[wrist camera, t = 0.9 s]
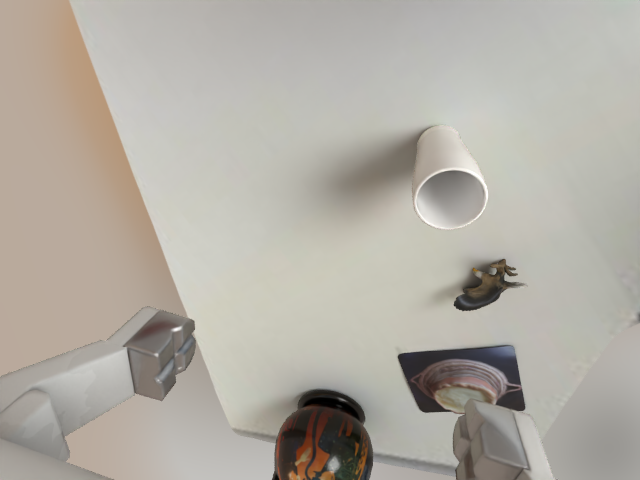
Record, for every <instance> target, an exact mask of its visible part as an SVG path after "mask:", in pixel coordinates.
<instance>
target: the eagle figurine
mask: <svg viewBox="0 0 640 480" xmlns="http://www.w3.org/2000/svg"><path fill="white" fill-rule="evenodd" d="M490 267H493V268H496V269H497V272H496V274H495V275H491V274H488V273H484V272H480V271H478V270H476V269H475V268H473V271H474V274H475V275H476V276H477V277H479V278H480V279H481V280H482V284H481V285H480V286H479V287H475V288H469V289H463V290H464V293H465V294H462V295H460V296H458V297H457V298H456V301H455V302H454V306H455V307H456V309H459V310H462V311H465V310H466V311H468V310H469V311H471V310H477V309H479V308H481V307H484V306H486V305H489V304H490V303H493V302H494V301H496V300H497V299H498V298H499V297H500V294H501V293H502V292H503V291H504V290H506V289H508V288H520V287H526V286H527V284H524V283H519V282H512V283H511V282H507V281H505V280H504V275H505V272H506V273H507V274H508V275H509V276H516V275H518V274H516V273H515V274H514V273H512V272H510V271H509V270H508V269H510V270H516V269H515V268H511V267H509V266H507V265H506V260H505V259H503V260H502V261H500V262H499V263H498V264H491V266H490Z"/></svg>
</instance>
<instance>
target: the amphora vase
mask: <svg viewBox="0 0 640 480" xmlns="http://www.w3.org/2000/svg"><path fill="white" fill-rule="evenodd" d="M364 422H365V414H364V411H363V410H362V408H361V406H360V405H359V404H358V403H357V402H356V401H354V400H353V399H351V398H349V397H348V396H345V395H343V394H340V393H337V392H333V391H325V390H319V391H312V392H309V393H307V394H305V395H304V396H302V397H301V398H300V400H299V402H298V410H297V411H295V412H293V413H292V414H291V415H290V416H289V417H288V418H287V419H286V421H285V422H284V424H283V425H282V427H281V428H280V431H279V433H278V436H277V439H276V446H275V471H274V474H273V478H272V480H369V478H370V475H371V470H372V466H373V449H372V444H371V440H370V437H369V435H368V433H367V431H366V429H365V428H364V426H363V425H364Z"/></svg>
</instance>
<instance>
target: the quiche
mask: <svg viewBox="0 0 640 480" xmlns="http://www.w3.org/2000/svg"><path fill="white" fill-rule="evenodd" d="M398 359H399V361H400V364H401V367H402V369H403V372H404V374H405V377H406V379H407V381H408V384H409V386H410V388H411V391H412V393H413V395H414V397H415V400H416V402H417V404H418V406H419V408H420V409H421V411H422V412H426V413H428V412H454V413H458V414H465V410H464V406H465V404H466V402H467V400H469V399H470V398H472V399H476V400H480V401H483V402H487V403H491V404H494V405H498V406H502V407H505V408H508V409H512V410H516V411H523V410H525V403H524V398H523V392H522V387H521V382H520V376H519V371H518V365H517V360H516V354H515V349H514V347H513V346H503V347H494V348H482V349H467V350H450V351H427V352H414V353H404V354H400V355H398Z"/></svg>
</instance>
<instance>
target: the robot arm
mask: <svg viewBox="0 0 640 480" xmlns="http://www.w3.org/2000/svg"><path fill="white" fill-rule="evenodd" d="M194 330H195V323H194V320H192V319H189V318H186V317H182V316H179V315H176V314H173V313H169V312H166V311H163V310H159V309H156V308H153V307H150V306H147V307H144V308H142V309H141V310H140V311H139V312H137V313H136V314H135V315H134V316H133V317H132V318H131V319H130V320H129V321H127V322H126V323H125V324H124V325H123V326H122V327H121V328H120V329H118V330H117V331H116V332H115V333H114V334H113V335H112V336H111V337H110V338H108V339H107V340H106V341H102V340H100V341H97V342H94V343H91V344H88V345H86V346H83V347H80V348H77V349H75V350H72V351H69V352H66V353H64V354H61V355H58V356H55V357H53V358H50V359H47V360H44V361H41V362H39V363H36V364H33V365H30V366H28V367H25V368H22V369H19V370H17V371H14V372H11V373H8V374H6V375H3V376H1V377H0V480H114V479H111V478H108V477H105V476H102V475H100V474H96V473H94V472H92V471H89V470H86V469H84V468H81V467H78V466H75V465H73V464H70V463H67V462H66V461H67V460H68V458H69V457H70V451H69V448H68V445H67V442H66V440H65V436H67V435H68V434H70V433H72V432H73V431H75V430H77V429H78V428H80V427H82V426H83V425H85V424H87V423H88V422H90V421H92V420H94V419H95V418H97V417H99V416H100V415H102V414H104V413H105V412H107V411H109V410H110V409H112V408H114V407H116V406H117V405H119V404H121V403H122V402H124V401H126V400H127V399H129V398H131V397H132V396H134V395H135V393H136V394H139V395H143V396H146V397H150V398H153V399H157V400H160V401H162V400H163V399H164V397H165V396H166V395H167V394H168V392H169V391H170V390H171V388H172V387H173V386H174V384H175V383H176V376H175V375H177V374H178V373H181V372H183V371H185V370H186V368H187V367H188V365H189V364H190V362H191V360H192V357H193V355H194V353H195V348H196V340H195V339H194V337H193V336H192V332H193V331H194ZM464 410H465V415H462V416H460V417H458V420H457V422H456V424H455V428H454V433H453V452H454V455H455V456H456V458H457V459H458V461H459V462H460V463H459V465H458V466H457V468H456V470H455V471H456V480H558V479H555V478H554V477H553V474H552V471H551V468H550V465H549V462H548V459H547V457H546V454H545V451H544V448H543V445H542V442H541V439H540V436H539V434H538V431H537V428H536V425H535V422H534V419H533V418H532V416H531V415H530V414H527V413H523V412H519V411H516V410H512V409H508V408H505V407H502V406H498V405H494V404H491V403H487V402H483V401H480V400H476V399H472V398H470V399H469V400H467V402H466V404H465V406H464Z"/></svg>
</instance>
